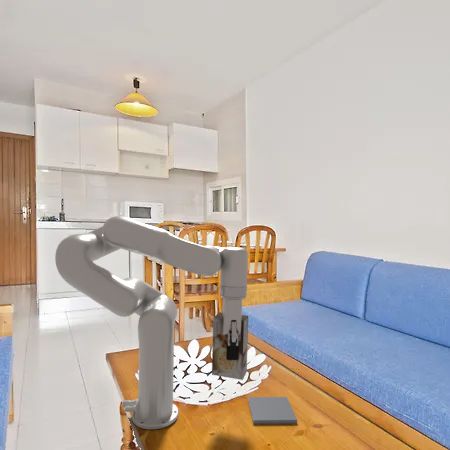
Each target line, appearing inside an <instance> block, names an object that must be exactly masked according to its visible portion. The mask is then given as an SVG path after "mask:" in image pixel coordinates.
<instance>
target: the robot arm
mask: <svg viewBox="0 0 450 450" xmlns="http://www.w3.org/2000/svg"><path fill="white" fill-rule="evenodd" d="M56 247H57V248H56V251H55V258H54V259H55V266H56V269H57V272H58V273H59V275H60V277H61V278H62V279H63V280H64V281H65V282H66V283H67V284H68V285H69V286H71V287H72V288H74V289H76V290H77V291H79V292H81V293H82V294H84V295H85V296H86V297H88V298H89V299H91V300H93V301H94V302H96V303H97V304H99V305H101V306H102V307H104V308H105V309H107V310H108V311H110V312H111V313H113V314H114V315H116V316H118V317H122V318H123V317H124V318H126V317H130V316H132V315H134V314H136V315H138V316H139V319H138V321H137V338H138V339H137V340H138V386H137V387H138V391H137V392H138V393H137V394H138V395H137V396H138V398H135V399H133V400H132V399H131V400H130V399H123V401H122V405H121V406H122V408H123V409H124V412H125V413H129V412H132V415H131V418H132V419H131V421H132V422H133V424H134V425H135V426H136V427H138V428H140V429H144V430H159V429H164V428H166V427H168V426H170V425H172V424H173V423H175V422H176V420H177V419H178V417H179V408H178V407H177V405H176V404H174V367H175V366H174V364H175V361H174V357H175V354H174V353H175V352H174V351H175V349H174V348H175V346H174V345H175V344H174V342H175V341H174V340H175V339H174V338H175V336H174V335H175V334H174V332H175V331H174V330H175V324H176V319H177V315H178V307H177V305H176V303H175V301H174V300H173V299H172V298H171V297H169V296H167V295H166V294H164V293H163V292H162V291H160V290H158V289H157V288H155V287H153V286H152V285H150V284H149V283H148V282H146V281H144V280H142V279H139V278H137V277H127V278H120V277H119V276H118V275H115V274H114V273H112V272H111V271H110V270H108V269H106V268H104V267H102V266H99V265H98V264H96V263H95V262H94V261H97V260H99V259H101V258H103V257H105V256H107V255H110V254H112V253H114V252H116V251H119V250H120V249H121V250H125V251H128V252H132V253H134V254H137V255H141V256H144V257H147V258H150V259H152V260H155V261H158V262H159V263H163V264H166V265H169V266H172V267H173V268H177V269H179V270H182V271H185V272H188V273H192V274H195V275H199V276H202V277H211V276H213V275H216V274H217V273H218V271H220V280H219V281H220V284H219V297H220V298H222V307H221V308H222V310H221V313H222V317H223V330H222V333H223V335H225V334H228V345H227V350H226V359H227V360H238V351H239V345H238V335H240V333H241V321H242V315H243V299H246V298H247V296H248V295H247V289H248V271H249V268H248V267H249V263H248V262H249V252H248V250H247V249H246V248H245V247H236V246H235V247H234V246H228V247H220V246H215V245H208V244H206V245H200V244H197V243H195V242H192V241H188V240H184V239H182V238H180V237H177V236H176V235H174V234H172V233H171V232H169V231H168V230H166V229H163V228H160V227H157V226H153V225H149V224H146V223H143V222H141V221H140V222H139V221H136V220H134V218H131V217H130V216H129V217H128V216H123V215H116V216H111V217H110V218H108V219H107V220H106V221H104V224H103V225H102V226H101V227H98V228H96V229H94V230H92V231H89V232H87V233H86V232H85V233H75V234H71V235H69V236H67V237H65V238H63V239H62V240H61V241H60V242H59V244H58V245H57V246H56ZM236 328H237V330H238V331H239V333H238V331H236ZM229 331H232V333H229ZM230 336H231V337H232V338H230Z"/></svg>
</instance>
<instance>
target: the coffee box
mask: <svg viewBox="0 0 450 450" xmlns="http://www.w3.org/2000/svg"><path fill="white" fill-rule="evenodd" d="M212 322H213V323H212V349H211V351H212V355H211V356H212V358H211V375H212V376H216V377H224V378H230V379H235V380H241V381H243V380H244V379H245V376H246V374H247V372H248V345H249V344H248V340H249V339H248V338H249V337H248V336H249V315H244V314H242V321H241V333H240V335H238V345H239V351H238V360H227V359H226V350H227V345H228V334H225V335H223V333H222V330H223V317H222V311H221V312H218V313H217V314H215V316H214V317H213V318H212ZM236 331H238V330H237V328H236ZM229 333H232V331H229ZM238 333H239V331H238ZM230 338H232V337H231V336H230Z"/></svg>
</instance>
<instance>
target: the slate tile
mask: <svg viewBox="0 0 450 450" xmlns="http://www.w3.org/2000/svg"><path fill="white" fill-rule="evenodd" d="M247 402H248V406H249V411H250V416H251V419H252V423H253V425H265V424H266V425H270V424H271V425H273V424H274V425H279V424H280V425H281V424H282V425H284V424H286V425H287V424H298V419H297V416H296V414H295V412H294V410H293V407H292V404H291V403H290V400H289V399H288V396H248V397H247Z"/></svg>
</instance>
